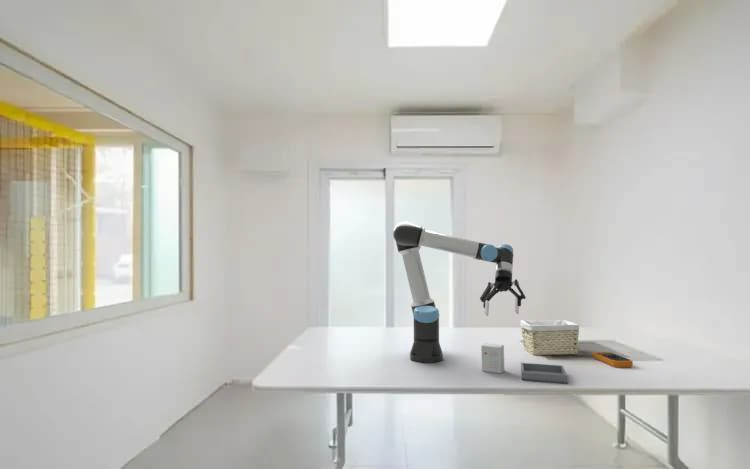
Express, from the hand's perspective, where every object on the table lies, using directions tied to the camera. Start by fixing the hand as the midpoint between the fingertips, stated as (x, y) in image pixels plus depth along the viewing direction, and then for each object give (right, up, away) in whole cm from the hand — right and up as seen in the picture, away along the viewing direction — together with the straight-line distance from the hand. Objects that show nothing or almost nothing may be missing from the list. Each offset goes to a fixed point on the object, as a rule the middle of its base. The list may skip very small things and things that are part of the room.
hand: (501, 313), depth 191 cm
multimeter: (+49, -22, 0) cm, 54 cm away
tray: (+10, -21, -22) cm, 32 cm away
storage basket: (+30, -23, +21) cm, 43 cm away
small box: (-7, -22, -13) cm, 26 cm away
